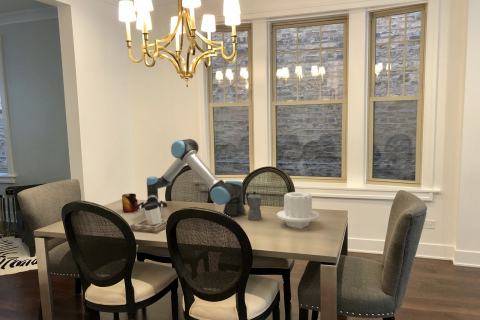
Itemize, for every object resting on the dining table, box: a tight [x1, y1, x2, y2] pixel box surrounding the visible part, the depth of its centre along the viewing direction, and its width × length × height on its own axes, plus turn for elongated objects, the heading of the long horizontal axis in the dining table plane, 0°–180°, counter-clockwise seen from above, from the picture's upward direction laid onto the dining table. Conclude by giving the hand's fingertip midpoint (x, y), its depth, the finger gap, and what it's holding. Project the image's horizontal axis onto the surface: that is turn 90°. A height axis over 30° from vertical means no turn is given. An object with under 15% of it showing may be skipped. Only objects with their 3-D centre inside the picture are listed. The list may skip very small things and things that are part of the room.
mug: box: [121, 192, 139, 214], centre depth 271 cm, size 10×14×12 cm
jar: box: [143, 203, 162, 225], centre depth 232 cm, size 9×8×12 cm
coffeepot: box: [245, 191, 263, 222], centre depth 245 cm, size 15×9×18 cm, turn 33°
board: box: [129, 217, 168, 234], centre depth 233 cm, size 22×22×3 cm
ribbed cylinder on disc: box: [276, 191, 320, 229], centre depth 228 cm, size 25×25×19 cm
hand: (151, 208), depth 243 cm, fingers open, 13 cm apart
